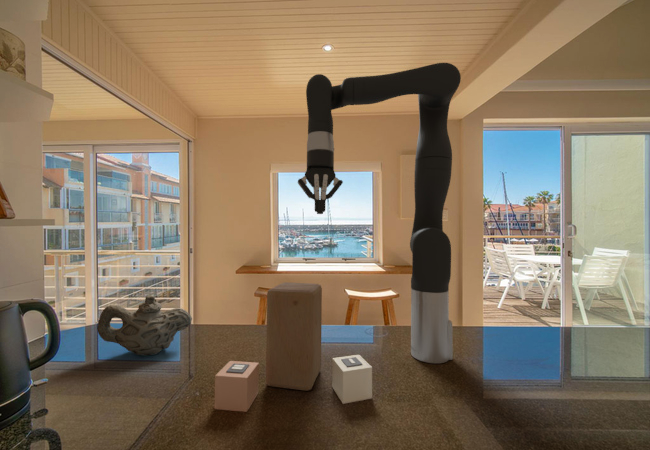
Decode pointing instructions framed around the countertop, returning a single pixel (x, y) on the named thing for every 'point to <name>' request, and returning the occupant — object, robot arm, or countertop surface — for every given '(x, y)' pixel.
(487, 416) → the countertop surface
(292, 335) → the wooden block
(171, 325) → the teapot
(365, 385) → the cream cube
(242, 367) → the pink cube
